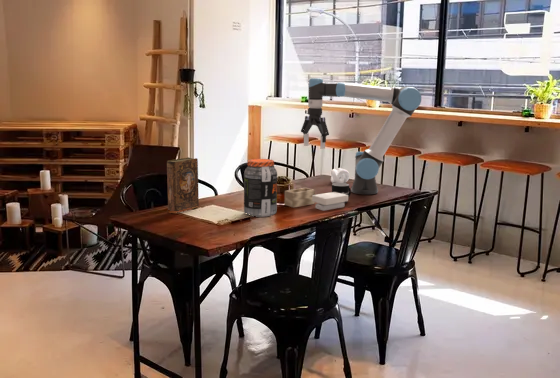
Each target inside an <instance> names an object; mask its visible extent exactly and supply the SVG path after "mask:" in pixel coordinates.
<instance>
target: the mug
mask: <svg viewBox="0 0 560 378" xmlns="http://www.w3.org/2000/svg"><path fill="white" fill-rule="evenodd" d="M331 192H338V193H342V194H346V195H348V198H350V197H351V193H352V192H351V188H350V184H349V183H347V182H345V183H336V182H335V183H332V184H331ZM347 203H348V201H346V202H345V204H347Z"/></svg>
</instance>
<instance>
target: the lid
mask: <svg viewBox="0 0 560 378" xmlns="http://www.w3.org/2000/svg"><path fill="white" fill-rule="evenodd" d="M312 201H313V202H315V203H316V204H317V203H319V204H321V205H330V204H336V203H341V202H346V201H347V202H348V201H349V197H348V195H346V194H342V193H338V192H332V191H331V192H325V193H318V194H317V193H316V194H315V195H312Z"/></svg>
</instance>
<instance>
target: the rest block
mask: <svg viewBox="0 0 560 378" xmlns="http://www.w3.org/2000/svg"><path fill="white" fill-rule="evenodd" d="M345 204H346V203H345V202H341V203H336V204H330V205H321V204H319V203H317V202H316V203H315V205H314V206H315V207H314V209H318V210H319V211H323V212H324V211H329V210H334V209H341V208H344V207H345Z"/></svg>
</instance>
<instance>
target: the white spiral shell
mask: <svg viewBox="0 0 560 378" xmlns="http://www.w3.org/2000/svg"><path fill="white" fill-rule="evenodd" d="M330 173H331V176H330V182H331V183H332V184H333V183H347V182H348V181H349V179H350V172H349V171H348V170H347V169H344V168H342V167H338V168H333V169H332V170H330Z"/></svg>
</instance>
